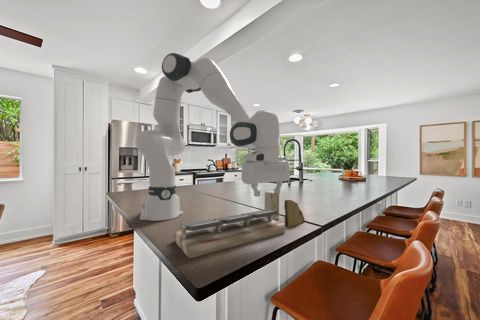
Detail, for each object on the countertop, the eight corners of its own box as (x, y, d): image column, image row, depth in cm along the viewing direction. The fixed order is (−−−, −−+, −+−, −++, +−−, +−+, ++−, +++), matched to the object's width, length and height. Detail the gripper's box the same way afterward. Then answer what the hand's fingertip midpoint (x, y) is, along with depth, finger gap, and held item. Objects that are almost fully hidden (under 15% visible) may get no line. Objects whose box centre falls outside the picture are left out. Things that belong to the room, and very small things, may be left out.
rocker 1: (181, 228, 65) (180, 224, 66) (209, 223, 71) (209, 219, 71) (192, 231, 57) (191, 226, 57) (223, 224, 63) (223, 220, 63)
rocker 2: (240, 217, 78) (240, 214, 78) (261, 213, 84) (260, 210, 84) (256, 218, 70) (256, 214, 70) (278, 214, 76) (277, 210, 76)
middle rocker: (213, 222, 72) (213, 218, 72) (237, 218, 77) (237, 214, 77) (227, 224, 64) (227, 219, 64) (253, 219, 69) (252, 215, 69)
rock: (300, 213, 92) (279, 210, 91) (308, 200, 87) (285, 197, 86) (307, 234, 84) (283, 232, 83) (315, 222, 79) (290, 219, 78)
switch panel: (174, 241, 66) (174, 221, 66) (260, 222, 86) (260, 206, 86) (189, 258, 55) (189, 234, 55) (284, 232, 75) (284, 214, 75)
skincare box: (272, 221, 88) (272, 193, 87) (263, 219, 90) (264, 192, 90) (279, 218, 93) (279, 191, 93) (271, 216, 95) (271, 190, 95)
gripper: (281, 156, 82) (281, 191, 82) (238, 156, 70) (239, 196, 70) (293, 156, 76) (294, 193, 76) (249, 155, 65) (250, 199, 65)
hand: (267, 194), depth 73 cm, fingers open, 8 cm apart
